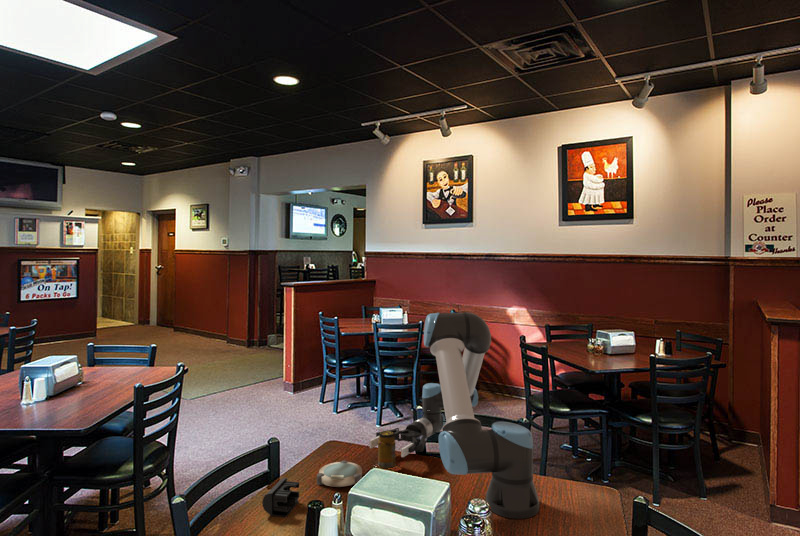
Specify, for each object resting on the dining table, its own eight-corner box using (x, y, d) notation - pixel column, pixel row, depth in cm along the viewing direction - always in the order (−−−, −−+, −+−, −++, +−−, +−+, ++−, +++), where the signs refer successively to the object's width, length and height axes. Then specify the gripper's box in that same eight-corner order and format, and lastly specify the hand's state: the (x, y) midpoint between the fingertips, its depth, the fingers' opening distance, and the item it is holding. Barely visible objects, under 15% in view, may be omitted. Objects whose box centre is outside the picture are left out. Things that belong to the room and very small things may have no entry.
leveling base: (364, 468, 161) (364, 458, 161) (359, 489, 146) (359, 477, 146) (324, 468, 162) (324, 457, 162) (314, 488, 147) (314, 476, 147)
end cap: (277, 499, 141) (277, 476, 141) (299, 501, 140) (299, 478, 140) (261, 516, 131) (261, 492, 131) (285, 518, 130) (285, 494, 130)
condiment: (388, 461, 168) (388, 428, 168) (403, 469, 161) (403, 434, 161) (372, 467, 163) (372, 432, 163) (387, 475, 156) (387, 439, 156)
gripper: (447, 447, 172) (416, 468, 154) (392, 434, 186) (358, 451, 169) (447, 427, 172) (416, 445, 154) (392, 415, 186) (358, 430, 169)
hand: (385, 448), depth 161 cm, fingers open, 13 cm apart
